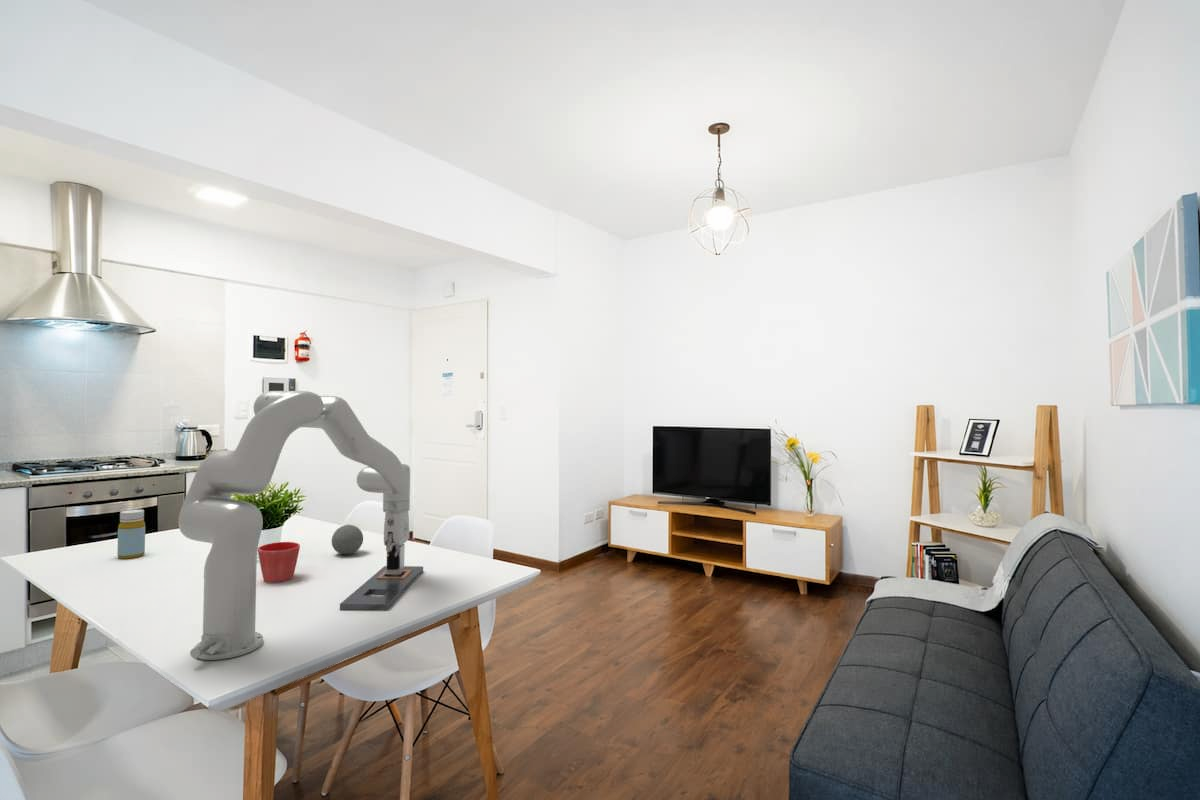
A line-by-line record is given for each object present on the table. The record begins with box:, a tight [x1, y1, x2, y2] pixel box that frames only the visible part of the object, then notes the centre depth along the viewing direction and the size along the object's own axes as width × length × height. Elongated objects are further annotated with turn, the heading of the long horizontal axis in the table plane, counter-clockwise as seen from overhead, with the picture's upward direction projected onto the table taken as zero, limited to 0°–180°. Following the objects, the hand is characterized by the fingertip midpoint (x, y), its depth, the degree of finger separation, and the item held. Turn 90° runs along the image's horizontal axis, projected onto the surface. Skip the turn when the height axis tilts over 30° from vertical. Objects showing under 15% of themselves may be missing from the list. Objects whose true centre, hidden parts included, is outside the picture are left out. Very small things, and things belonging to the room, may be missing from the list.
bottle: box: [117, 509, 146, 560], centre depth 192 cm, size 7×7×15 cm
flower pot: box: [257, 541, 301, 583], centre depth 172 cm, size 11×11×10 cm
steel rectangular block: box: [386, 543, 406, 574], centre depth 173 cm, size 4×4×8 cm
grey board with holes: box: [339, 565, 424, 611], centre depth 165 cm, size 34×12×2 cm, turn 2°
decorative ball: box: [331, 524, 364, 556], centre depth 200 cm, size 10×10×10 cm
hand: (395, 566), depth 173 cm, fingers closed on steel rectangular block, 4 cm apart
